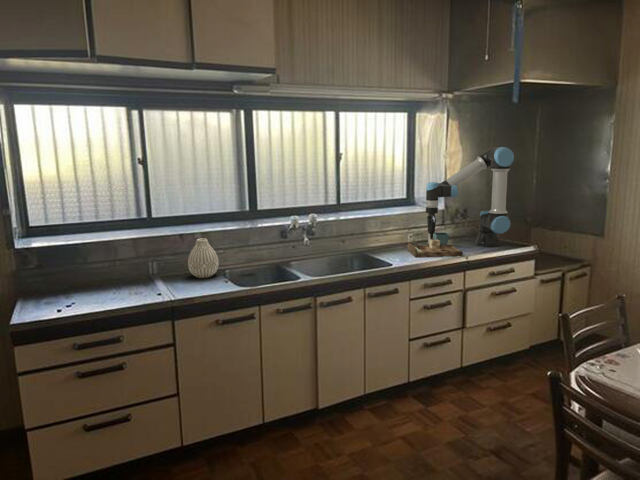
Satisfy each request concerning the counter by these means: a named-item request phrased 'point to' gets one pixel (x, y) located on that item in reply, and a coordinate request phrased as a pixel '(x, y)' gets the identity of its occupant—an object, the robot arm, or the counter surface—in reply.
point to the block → (435, 244)
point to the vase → (203, 259)
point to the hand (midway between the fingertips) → (430, 243)
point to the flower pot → (442, 238)
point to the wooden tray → (433, 251)
